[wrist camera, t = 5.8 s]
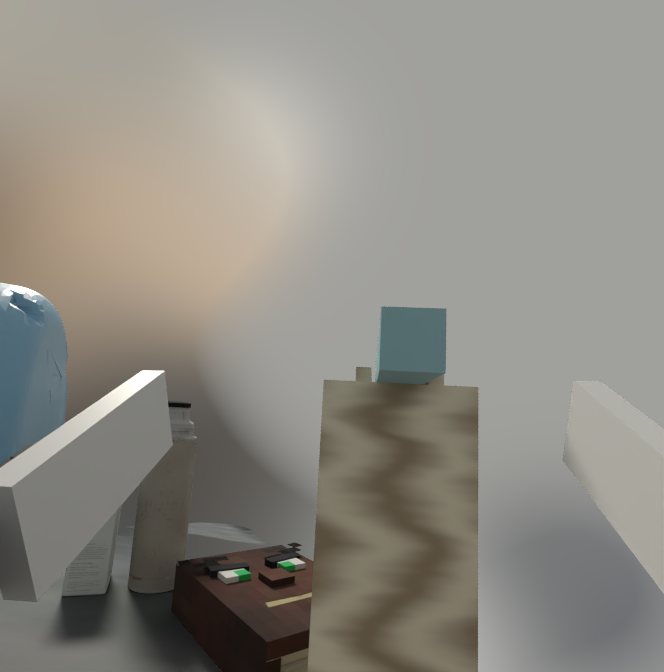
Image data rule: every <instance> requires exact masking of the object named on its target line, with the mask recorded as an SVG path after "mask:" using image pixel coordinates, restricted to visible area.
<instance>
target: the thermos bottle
mask: <svg viewBox="0 0 664 672" xmlns="http://www.w3.org/2000/svg"><path fill="white" fill-rule="evenodd" d="M168 407H169V416H170V425H171V434H172V443H173V446H172V447H171V448H170V449H169V450H168V451H167V452H166V454H165V455H164V456H163V457H162V458H161V459H160V461H159V462H158V463H157V464H156V465H155V466H154V468H153V469H152V470H151V471H150V472H149V473H148V474H147V476H146V477H145V478H144V479H143V480H142V481H141V483H140V486H139V495H138V504H137V512H136V521H135V529H134V537H133V546H132V554H131V563H130V572H129V580H128V587H129V589H131V590H132V591H135V592H139V593H162V592H167V591H170V590H173V589H174V581H175V572H176V561H184V560H185V553H186V543H187V533H188V523H189V512H190V502H191V492H192V482H193V472H194V462H195V452H196V441H197V437H195V436H193V429H194V423H193V422H191V421H190V420H189V413H190V412H189V408H190V407H191V403H186V402H177V401H168Z"/></svg>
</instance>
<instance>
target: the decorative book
mask: <svg viewBox="0 0 664 672" xmlns="http://www.w3.org/2000/svg"><path fill="white" fill-rule="evenodd" d="M288 545H290V546H293V548H289V549H288V548H286V547H284V546H282V545H278V546H272V547H267V548H260V549H253V550H247V551H241V552H234V553H229V554H222V555H215V556H209V557H203V558H196V559H190V560H184V561H176V572H175V581H174V591H173V601H172V613H173V614H174V615H175V616H176V617H177V618H178V620H179V621H180V622H181V623H182V624H183V626H184V627H185V628H186V629H187V630H188V631H189V633H190V634H191V635H192V636H193V637H194V638H195V640H196V641H197V642H198V643H199V644H200V645H201V647H202V648H203V649H204V650H205V651H206V653H207V654H208V655H209V656H210V657H211V658H212V660H213V661H214V662H215V663H216V664H217V665H218V667H219V668H220V669H221V670H222V671H223V672H307V671H308V653H309V636H310V618H311V600H312V582H313V565H314V562H313V561H311V560H309V559H307V558H305V557H304V556H302V555H300V554H298V553H296V552H295V551H300V549H297V548H295V547H297V546H301V545H300V544H297V543H292V544H288Z"/></svg>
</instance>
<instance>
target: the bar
mask: <svg viewBox="0 0 664 672" xmlns="http://www.w3.org/2000/svg"><path fill="white" fill-rule="evenodd" d="M381 308H382V309H381V317H380V328H379V338H378V348H377V358H376V378H375V380H376V381H375V382H380V383H400V384H421V385H423V384H425V383H427V382H429V381H431V380H433V379H435V378H437V377H439V376H441V375H443V374H445V369H446V367H445V366H446V309H437V308H407V307H381Z"/></svg>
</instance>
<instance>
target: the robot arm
mask: <svg viewBox="0 0 664 672" xmlns="http://www.w3.org/2000/svg"><path fill="white" fill-rule="evenodd" d="M67 357H68V355H67V342H66V335H65V330H64V326H63V323H62V320H61V317H60V316H59V313H58V311H57V310H56V308H55V307H54V306H53V305H52V303H51V302H49V300H47V299H46V298H45V297H43V296H42V295H41V294H39V293H37V292H35V291H32V290H30V289H28V288H24V287H21V286H16V285H10V284H5V283H0V588H1V592H2V597H3V600H15V601H29V602H38V601H39V600H40V598H41V597H42V596H43V595H44V594H45V593H46V591H47V590H48V589H49V588H50V587H51V586H52V584H53V583H54V582H55V581H56V580H57V579H58V578H59V576H60V575H61V574H62V573H63V572H64V571H65V569H66V568H67V567H68V566H69V565H70V564H71V562H72V561H73V560H74V559H75V558H76V557H77V556H78V554H79V553H80V552H81V551H82V550H83V549H84V547H85V546H86V545H87V544H88V543H89V542H90V540H91V539H92V538H93V537H94V536H95V535H96V534H97V532H98V531H99V530H100V529H101V528H102V527H103V525H104V524H105V523H106V522H107V521H108V520H109V518H110V517H111V516H112V515H113V514H114V513H115V512H116V510H117V509H118V508H119V507H120V506H121V505H122V503H123V502H124V501H125V500H126V498H128V496H129V495H130V494H131V493H132V492H133V491H134V490H135V488H136V487H137V486H138V485H139V484H140V483H141V481H142V480H143V479H144V478H145V477H146V476H147V474H148V473H149V472H150V471H151V470H152V469H153V468H154V466H155V465H156V464H157V463H158V462H159V461H160V459H161V458H162V457H163V456H164V455H165V454H166V452H167V451H168V450H169V449H170V448H171V447H172V446H173V443H172V434H171V425H170V416H169V407H168V398H167V389H166V381H165V372H164V371H145V370H143V371H141V372H139V373H138V374H137V375H135V376H134V377H132V378H131V379H129V380H128V381H126V382H125V383H123V384H122V385H120V386H119V387H118V388H116V389H115V390H113V391H112V392H110V393H109V394H107V395H106V396H104V397H103V398H101V399H100V400H99V401H97V402H96V403H94V404H93V405H91V406H90V407H88V408H87V409H85V410H84V411H83V412H81V413H80V414H78V415H77V416H75V417H74V418H72V419H71V420H69V421H68V422H66V423H65V424H64V421H65V415H66V402H67V376H66V372H65V370H66V364H67ZM563 461H564V463H565V464H566V465H567V467H568V468H569V469H570V471H571V472H572V473H573V475H574V476H575V477H576V478H577V480H578V481H579V482H580V484H581V485H582V486H583V488H585V490H586V492H587V493H588V494H589V496H590V497H591V498H592V500H593V501H594V502H595V504H596V505H597V506H598V507H599V509H600V510H601V511H602V513H603V514H604V515H605V517H606V518H607V519H608V520H609V522H610V523H611V524H612V526H613V527H614V529H615V530H616V531H617V532H618V534H619V535H620V537H621V538H622V539H623V540H624V542H625V543H626V544H627V546H628V547H629V548H630V550H631V551H632V552H633V554H634V555H635V556H636V558H637V559H638V560H639V562H640V563H641V564H642V566H643V567H644V568H645V570H646V571H647V572H648V573H649V575H650V576H651V577H652V579H653V580H654V581H655V583H656V584H657V585H658V587H659V588H660V589H661V591H662V592H663V593H664V429H663V428H662V427H660V426H659V425H658V424H656V423H655V422H653V421H652V420H651V419H650V418H648V417H647V416H646V415H644V414H643V413H641V412H640V411H639V410H638V409H636V408H635V407H634V406H632V405H631V404H630V403H628V402H627V401H626V400H624V399H623V398H622V397H620V396H619V395H618V394H616V393H615V392H614V391H612V390H611V389H610V388H608V387H607V386H606V385H604V384H603V383H602V382H600V381H574V384H573V391H572V398H571V405H570V413H569V419H568V426H567V433H566V440H565V447H564V455H563Z"/></svg>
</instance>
